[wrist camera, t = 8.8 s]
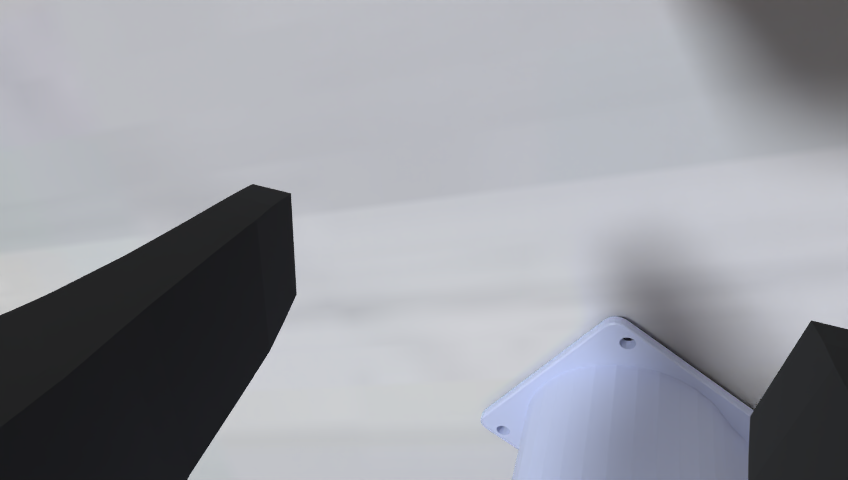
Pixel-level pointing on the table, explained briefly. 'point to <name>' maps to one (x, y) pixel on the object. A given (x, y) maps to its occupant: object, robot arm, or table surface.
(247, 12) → the table surface
